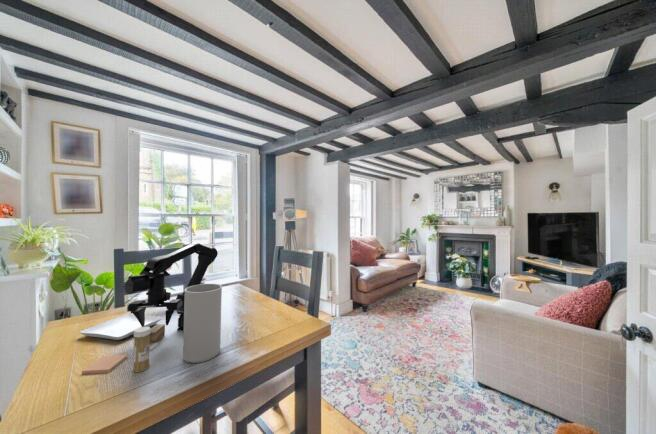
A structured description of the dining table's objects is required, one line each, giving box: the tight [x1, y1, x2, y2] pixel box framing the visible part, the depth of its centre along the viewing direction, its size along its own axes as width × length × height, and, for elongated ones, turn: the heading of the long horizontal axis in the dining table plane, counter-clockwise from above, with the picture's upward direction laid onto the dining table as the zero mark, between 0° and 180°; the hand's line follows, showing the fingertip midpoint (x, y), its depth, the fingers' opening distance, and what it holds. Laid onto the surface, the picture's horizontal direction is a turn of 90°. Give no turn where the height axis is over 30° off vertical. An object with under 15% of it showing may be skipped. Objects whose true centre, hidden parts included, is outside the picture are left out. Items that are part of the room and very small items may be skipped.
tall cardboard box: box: [150, 323, 166, 352], centre depth 101 cm, size 6×13×5 cm, turn 9°
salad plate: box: [79, 313, 163, 341], centre depth 112 cm, size 21×21×3 cm
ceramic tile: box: [81, 354, 128, 375], centre depth 85 cm, size 8×2×9 cm
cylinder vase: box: [182, 283, 223, 364], centre depth 93 cm, size 12×12×25 cm
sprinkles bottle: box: [132, 326, 152, 373], centre depth 83 cm, size 5×5×13 cm
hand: (155, 325), depth 103 cm, fingers open, 9 cm apart
